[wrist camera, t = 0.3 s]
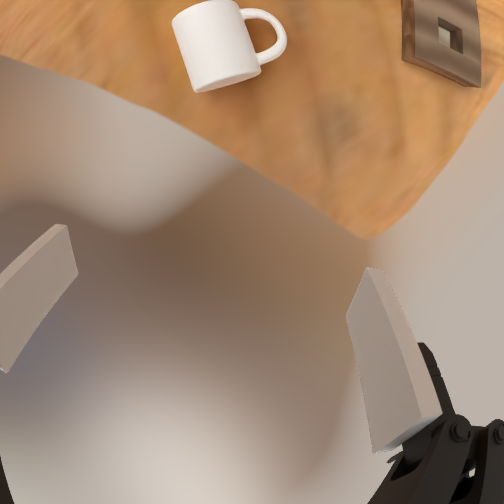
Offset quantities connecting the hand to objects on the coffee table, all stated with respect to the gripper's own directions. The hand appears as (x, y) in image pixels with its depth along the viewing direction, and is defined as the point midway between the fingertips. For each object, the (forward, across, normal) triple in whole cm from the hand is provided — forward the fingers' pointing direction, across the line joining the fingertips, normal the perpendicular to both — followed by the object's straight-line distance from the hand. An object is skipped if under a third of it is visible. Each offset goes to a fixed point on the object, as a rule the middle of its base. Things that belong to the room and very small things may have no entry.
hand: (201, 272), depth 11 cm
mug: (+28, -3, +14) cm, 31 cm away
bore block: (+28, +24, +27) cm, 45 cm away
